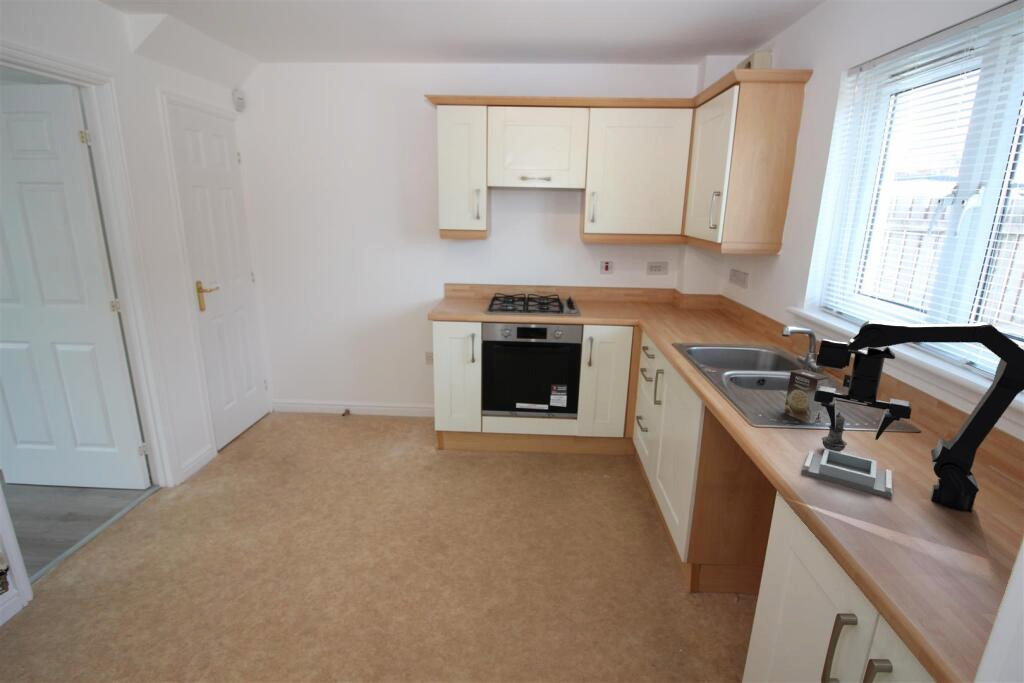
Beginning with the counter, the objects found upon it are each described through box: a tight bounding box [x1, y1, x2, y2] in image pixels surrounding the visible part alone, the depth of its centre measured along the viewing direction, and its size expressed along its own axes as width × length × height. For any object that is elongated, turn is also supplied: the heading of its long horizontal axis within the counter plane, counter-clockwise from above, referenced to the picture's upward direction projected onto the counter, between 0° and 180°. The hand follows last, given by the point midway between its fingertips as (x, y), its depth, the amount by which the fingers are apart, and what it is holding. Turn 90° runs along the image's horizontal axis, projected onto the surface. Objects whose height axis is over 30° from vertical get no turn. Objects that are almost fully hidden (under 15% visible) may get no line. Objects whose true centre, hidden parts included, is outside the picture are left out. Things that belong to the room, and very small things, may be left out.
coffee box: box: [783, 368, 830, 424], centre depth 154 cm, size 9×6×16 cm
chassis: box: [801, 448, 893, 499], centre depth 121 cm, size 18×12×4 cm, turn 53°
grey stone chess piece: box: [821, 411, 848, 452], centre depth 133 cm, size 6×6×12 cm
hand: (854, 434), depth 119 cm, fingers open, 8 cm apart
